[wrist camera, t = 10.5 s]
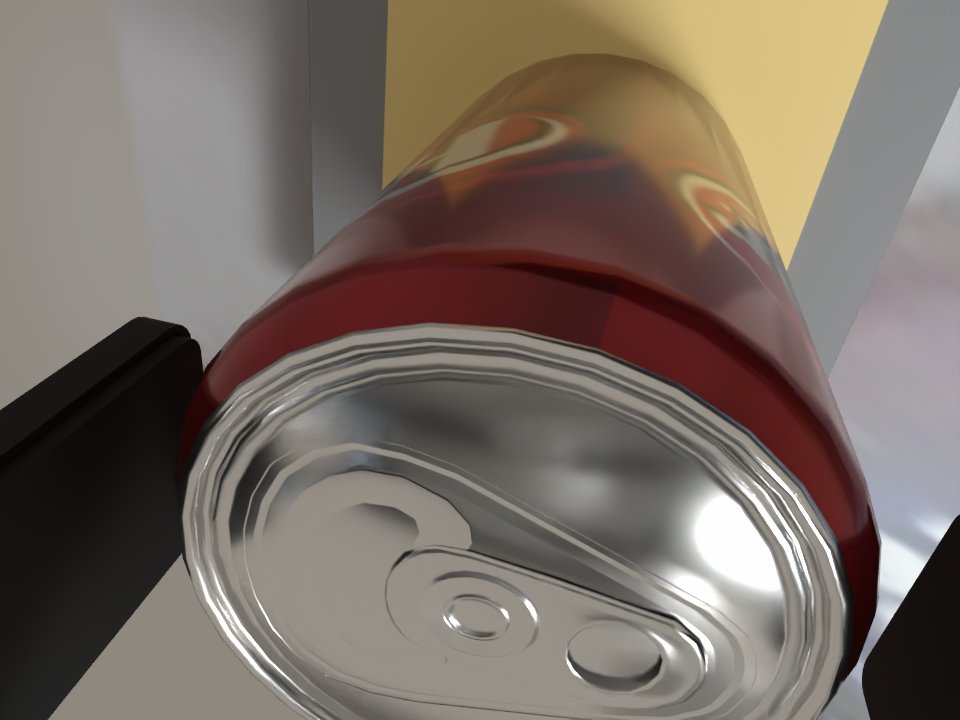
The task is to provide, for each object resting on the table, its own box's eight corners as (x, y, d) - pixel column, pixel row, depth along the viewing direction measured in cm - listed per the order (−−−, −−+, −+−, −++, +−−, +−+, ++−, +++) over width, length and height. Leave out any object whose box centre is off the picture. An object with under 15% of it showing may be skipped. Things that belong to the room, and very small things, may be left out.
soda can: (414, 293, 19) (146, 696, 9) (480, 3, 15) (130, 153, 5) (671, 379, 19) (688, 894, 9) (808, 107, 15) (1128, 485, 5)
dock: (764, 400, 23) (784, 485, 20) (362, 318, 25) (312, 383, 21) (966, -103, 16) (1056, -112, 12) (370, -171, 17) (297, -198, 14)
